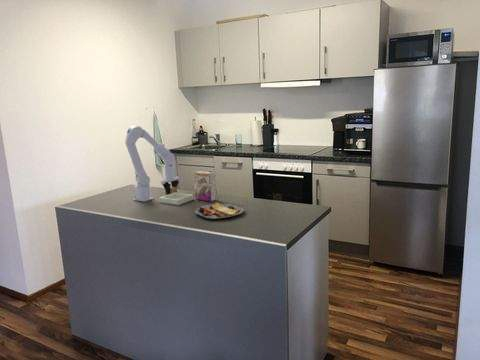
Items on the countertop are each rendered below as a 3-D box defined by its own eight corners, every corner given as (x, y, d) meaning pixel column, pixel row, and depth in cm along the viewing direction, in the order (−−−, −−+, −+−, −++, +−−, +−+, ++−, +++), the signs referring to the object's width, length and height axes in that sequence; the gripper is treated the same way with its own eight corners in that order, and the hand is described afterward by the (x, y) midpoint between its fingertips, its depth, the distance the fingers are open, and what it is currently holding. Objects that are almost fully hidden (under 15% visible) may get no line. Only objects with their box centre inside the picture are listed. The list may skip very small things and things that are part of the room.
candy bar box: (195, 199, 234) (194, 172, 231) (200, 197, 238) (199, 170, 235) (211, 201, 228) (209, 173, 225) (216, 199, 233) (214, 172, 229)
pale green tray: (159, 202, 231) (158, 197, 230) (175, 197, 242) (175, 192, 241) (177, 205, 223) (177, 200, 222) (193, 199, 235) (193, 194, 234)
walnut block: (165, 195, 246) (165, 188, 245) (171, 194, 250) (170, 186, 249) (171, 196, 243) (171, 188, 242) (177, 195, 247) (176, 187, 246)
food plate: (186, 213, 208) (186, 206, 207) (222, 204, 222) (222, 198, 222) (215, 225, 189) (215, 218, 188) (251, 215, 204) (251, 208, 203)
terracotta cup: (193, 196, 242) (192, 185, 241) (199, 194, 247) (198, 183, 246) (201, 197, 239) (200, 186, 238) (207, 195, 244) (206, 184, 242)
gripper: (166, 174, 235) (168, 196, 238) (182, 170, 247) (183, 191, 250) (157, 173, 239) (159, 195, 242) (174, 169, 251) (175, 190, 254)
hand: (171, 193), depth 246 cm, fingers closed on walnut block, 5 cm apart
